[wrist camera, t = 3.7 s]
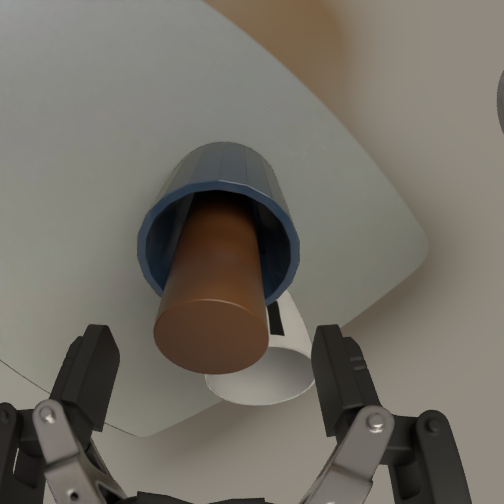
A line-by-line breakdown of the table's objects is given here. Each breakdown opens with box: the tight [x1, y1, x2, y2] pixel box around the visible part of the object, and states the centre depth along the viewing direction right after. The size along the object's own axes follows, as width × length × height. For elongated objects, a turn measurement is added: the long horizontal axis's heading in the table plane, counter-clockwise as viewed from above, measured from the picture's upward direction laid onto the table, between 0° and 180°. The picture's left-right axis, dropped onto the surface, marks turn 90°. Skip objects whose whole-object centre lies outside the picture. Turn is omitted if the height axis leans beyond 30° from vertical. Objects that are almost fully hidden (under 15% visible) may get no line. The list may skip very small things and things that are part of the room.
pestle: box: [154, 190, 269, 375], centre depth 17 cm, size 4×4×14 cm
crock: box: [137, 142, 300, 306], centre depth 19 cm, size 9×9×9 cm
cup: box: [205, 290, 315, 406], centre depth 24 cm, size 8×8×10 cm
